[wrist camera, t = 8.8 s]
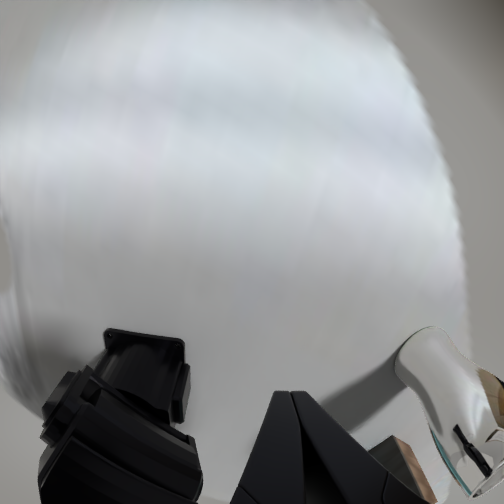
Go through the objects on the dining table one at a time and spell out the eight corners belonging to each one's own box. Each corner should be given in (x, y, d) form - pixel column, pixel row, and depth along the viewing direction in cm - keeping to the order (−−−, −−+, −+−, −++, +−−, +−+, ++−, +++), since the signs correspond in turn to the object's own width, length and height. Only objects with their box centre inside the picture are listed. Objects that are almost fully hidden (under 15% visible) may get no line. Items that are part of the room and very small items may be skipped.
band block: (289, 494, 29) (297, 553, 19) (392, 435, 26) (422, 499, 16) (314, 500, 30) (324, 554, 20) (409, 445, 27) (437, 501, 18)
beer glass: (408, 393, 24) (474, 504, 10) (376, 362, 22) (455, 501, 8) (458, 345, 23) (545, 440, 8) (435, 306, 21) (550, 416, 7)
